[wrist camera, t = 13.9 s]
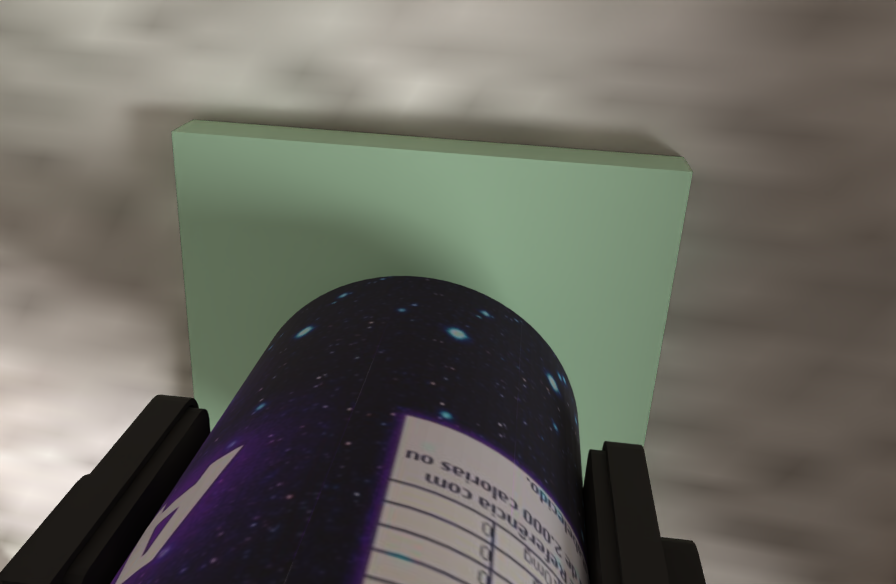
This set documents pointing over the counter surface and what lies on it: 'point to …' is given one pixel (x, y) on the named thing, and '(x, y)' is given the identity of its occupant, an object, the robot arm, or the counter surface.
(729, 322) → the counter surface
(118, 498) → the robot arm
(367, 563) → the beverage can
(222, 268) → the sage mat
